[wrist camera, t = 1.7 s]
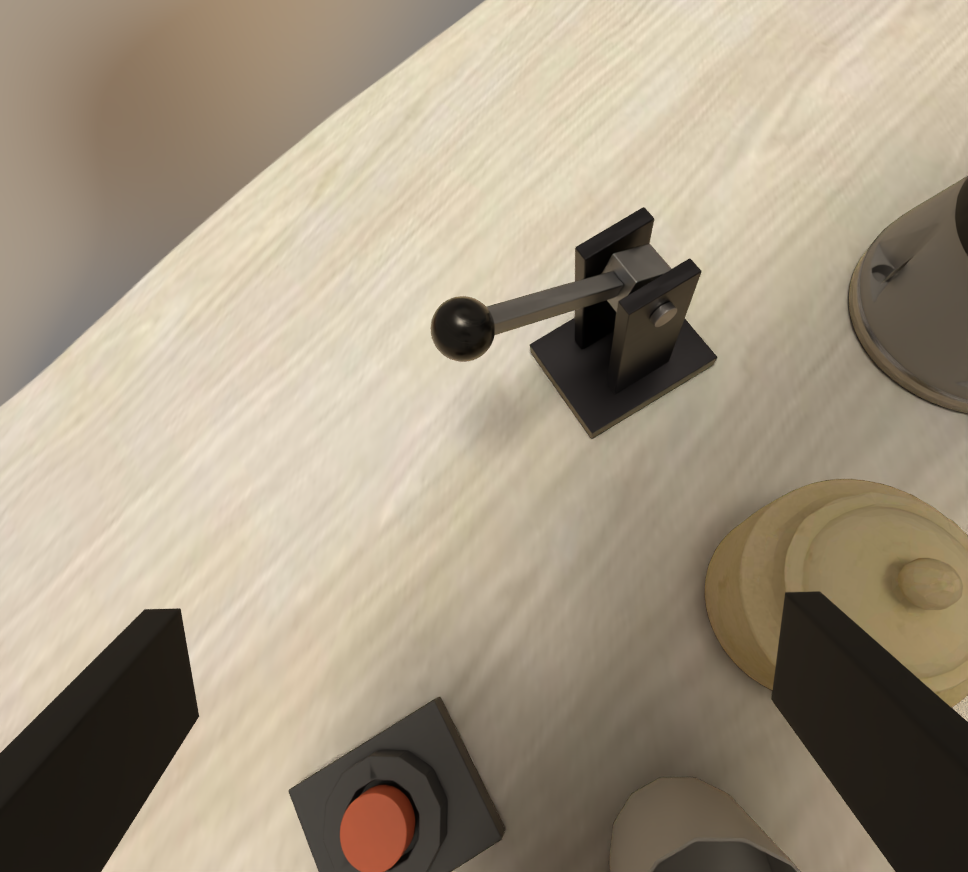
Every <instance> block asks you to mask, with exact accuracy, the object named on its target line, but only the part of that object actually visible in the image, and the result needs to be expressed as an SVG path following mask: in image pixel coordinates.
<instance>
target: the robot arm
mask: <svg viewBox="0 0 968 872" xmlns="http://www.w3.org/2000/svg"><path fill="white" fill-rule="evenodd" d="M849 311H850V315H851V320H852V323H853V326H854V329H855V332H856V334H857V336H858V338H859V340H860V342H861V344H862V345H863V347H864V349H865V350H866V352H867V353H868V354H869V356H870V357H871V358H872V360H873V361H874V362H875V363H876V364H877V365H878V366H879V367H880V368H881V369H882V370H883V371H884V372H885V373H886V374H887V375H888V376H889V377H891V378H892V379H893V380H894V381H896V382H897V383H898V384H900V385H901V386H903V387H904V388H906V389H907V390H908V391H910V392H912V393H914V394H916V395H917V396H919V397H921V398H923V399H925V400H928V401H930V402H932V403H935V404H937V405H940V406H943V407H945V408H949V409H952V410H956V411H960V412H965V413H968V176H967V177H965V178H963V179H962V180H960V181H958V182H957V183H955V184H953V185H952V186H950V187H948V188H947V189H945V190H943V191H942V192H940V193H938V194H937V195H935V196H933V197H932V198H930V199H928V200H927V201H925V202H923V203H922V204H920V205H918V206H916V207H915V208H913V209H911V210H910V211H908V212H907V213H905V214H904V215H902V216H901V217H899V218H898V219H897V220H895V221H894V222H893V223H891V224H890V225H889V226H888V227H887V228H886V229H884V230H883V231H882V232H881V233H880V235H879V236H878V237H877V238H876V239H875V240H874V242H873V243H872V244H871V246H870V247H869V248H868V249H867V251H866V252H865V253H864V255H863V256H862V257H861V259H860V261H859V262H858V264H857V266H856V268H855V270H854V273H853V276H852V279H851V282H850V289H849ZM771 700H772V701H773V702H774V704H775V705H776V707H777V708H778V709H779V711H780V712H781V713H782V715H783V716H784V718H785V719H786V720H787V722H788V723H789V725H790V726H791V727H792V729H793V730H794V731H795V733H796V734H797V736H798V737H799V738H800V740H801V741H802V743H803V744H804V745H805V747H806V748H807V750H808V751H809V752H810V754H811V755H812V756H813V758H814V759H815V761H816V762H817V763H818V765H819V766H820V768H821V769H822V770H823V772H824V773H825V775H826V776H827V777H828V779H829V780H830V781H831V783H832V784H833V786H834V787H835V788H836V790H837V791H838V793H839V794H840V795H841V797H842V798H843V800H844V801H845V802H846V804H847V805H848V806H849V808H850V809H851V811H852V812H853V813H854V815H855V816H856V818H857V819H858V820H859V822H860V823H861V825H862V826H863V827H864V829H865V830H866V831H867V833H868V834H869V836H870V837H871V838H872V840H873V841H874V843H875V844H876V845H877V847H878V848H879V850H880V851H881V852H882V854H883V855H884V856H885V858H886V859H887V861H888V862H889V863H890V865H891V866H892V868H893V869H894V870H895V872H968V722H967V721H966V720H965V719H964V718H963V717H961V716H960V715H959V714H958V713H957V712H956V711H955V710H954V709H952V708H951V707H950V706H949V705H948V704H947V703H946V702H944V701H943V700H942V699H941V698H940V697H939V696H938V695H937V694H935V693H934V692H933V691H932V690H931V689H930V688H929V687H927V686H926V685H925V684H924V683H923V682H922V681H921V680H920V679H918V678H917V677H916V676H915V675H914V674H913V673H912V672H911V671H909V670H908V669H907V668H906V667H905V666H904V665H903V664H901V663H900V662H899V661H898V660H897V659H896V658H895V657H894V656H892V655H891V654H890V653H889V652H888V651H887V650H886V649H885V648H883V647H882V646H881V645H880V644H879V643H878V642H877V641H875V640H874V639H873V638H872V637H871V636H870V635H869V634H868V633H866V632H865V631H864V630H863V629H862V628H861V627H860V626H859V625H857V624H856V623H855V622H854V621H853V620H852V619H851V618H849V617H848V616H847V615H846V614H845V613H844V612H843V611H842V610H840V609H839V608H838V607H837V606H836V605H835V604H834V603H833V602H831V601H830V600H829V599H828V598H827V597H826V596H825V595H823V594H822V593H821V592H820V591H813V592H785V597H784V605H783V613H782V621H781V628H780V636H779V644H778V651H777V659H776V667H775V674H774V682H773V690H772V698H771ZM198 717H199V713H198V707H197V701H196V696H195V690H194V684H193V678H192V672H191V667H190V661H189V655H188V649H187V643H186V638H185V632H184V626H183V620H182V615H181V609H145V610H144V611H143V612H142V613H141V614H140V615H139V616H138V617H137V618H136V619H135V620H134V621H133V622H132V623H131V624H130V625H129V626H128V627H127V628H126V629H125V630H124V631H123V632H122V633H120V634H119V635H118V636H117V637H116V638H115V639H114V640H113V641H112V642H111V643H110V644H109V645H108V646H107V647H106V648H105V649H104V650H103V651H102V652H101V653H100V654H99V655H98V656H97V657H96V658H95V659H94V660H93V661H92V662H91V663H90V664H89V665H88V666H87V667H86V668H85V669H84V670H83V671H82V672H81V673H80V674H79V675H78V676H77V677H76V678H75V679H74V680H73V681H72V682H71V683H70V684H69V685H68V686H67V687H66V688H65V689H64V690H63V691H62V692H61V693H60V694H59V695H58V696H57V697H56V698H55V699H54V700H53V701H52V702H51V703H50V704H49V705H48V706H47V707H46V708H45V709H44V710H43V711H42V712H41V713H40V714H39V715H38V716H37V717H36V718H35V719H34V720H33V721H32V722H31V723H30V724H29V725H28V726H27V727H26V728H25V729H24V730H23V731H22V732H21V733H20V734H19V735H18V736H17V737H16V738H15V739H14V740H13V741H12V742H11V743H10V744H9V745H8V746H7V747H6V748H5V749H4V750H3V751H2V752H1V753H0V872H101V871H102V869H103V868H104V866H105V865H106V863H107V862H108V860H109V858H110V857H111V855H112V854H113V852H114V850H115V849H116V847H117V846H118V844H119V842H120V841H121V839H122V838H123V836H124V835H125V833H126V831H127V830H128V828H129V827H130V825H131V823H132V822H133V820H134V819H135V817H136V816H137V814H138V812H139V811H140V809H141V808H142V806H143V804H144V803H145V801H146V800H147V798H148V796H149V795H150V793H151V792H152V790H153V789H154V787H155V785H156V784H157V782H158V781H159V779H160V777H161V776H162V774H163V773H164V771H165V770H166V768H167V766H168V765H169V763H170V762H171V760H172V758H173V757H174V755H175V754H176V752H177V750H178V749H179V747H180V746H181V744H182V743H183V741H184V739H185V738H186V736H187V735H188V733H189V731H190V730H191V728H192V727H193V725H194V724H195V722H196V720H197V719H198Z"/></svg>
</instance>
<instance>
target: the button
mask: <svg viewBox="0 0 968 872" xmlns="http://www.w3.org/2000/svg"><path fill="white" fill-rule="evenodd" d="M414 831H415V814H414V810H413V807H412V804H411V803H410V801H409V799H408V798H407V796H406V795H405V794H404V793H403V792H402V791H401V790H399V789H398V788H396V787H393V786H390V785H377V786H374V787H372V788H370V789H368V790H367V791H365V792H364V793H363V794H362V795H360V796H359V797H358V798H356V799H355V800H354V801H353V802H352V803H351V804H350V805H349V807H348V808H347V810H346V811H345V813H344V816H343V818H342V822H341V826H340V842H341V847H342V850H343V853H344V855H345V857H346V858H347V860H348V861H349V862H350V864H351V865H352V866H353V867H355V868H356V869H357V870H359V871H361V872H385V871H386V870H388V869H390V868H391V867H393V866H394V865H395V864H396V862H397V861H398V860H399V859H400V857H401V856H402V855H403V853H404V852H405V851H406V849H407V848H408V846H409V845H410V843H411V841H412V838H413V835H414Z"/></svg>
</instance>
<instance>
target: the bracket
mask: <svg viewBox="0 0 968 872" xmlns="http://www.w3.org/2000/svg"><path fill="white" fill-rule="evenodd" d="M653 223H654V218H653V216H652V215H651V214H650V213H649V212H648V211H647V210H646V209H645V208H644V207H643V208H641V209H640V210H638V211H636V212H634V213H633V214H631V215H629V216H628V217H626V218H624V219H623V220H621V221H619V222H618V223H616V224H614V225H612V226H611V227H609V228H607V229H606V230H604V231H602V232H601V233H599V234H597V235H596V236H594V237H592V238H590V239H589V240H587V241H585V242H584V243H582V244H580V245H579V246H577V247H576V248H575V281H579V280H582V279H586V278H589V277H593V276H596V275H600V274H602V272H603V270H604V268H605V267H606V265H607V263H608V261H609V259H610V257H611V256H612V254H613V253H616V252H620V251H624V250H628V249H631V248H635V247H639V246H643V245H646V244H649V243H650V238H651V233H652V228H653ZM700 274H701V270H700V269H699V268H698V267H697V265H696V264H695V263H694V262H693V261H692V260H691V259H688V260H686V261H684V262H683V263H681V264H679V265H678V266H676V267H674V268H673V269H671V270H669V271H668V272H666V273H664V274H663V275H661V276H659V277H658V278H656V279H654V280H653V281H651V282H649V283H648V284H646V285H644V286H643V287H641V288H639V289H638V290H636V291H634V292H633V293H631V294H629V295H628V296H626V297H624V298H623V299H621V300H619V301H618V306H617V312H616V311H615V310H614V309H613V307H612V306H611V305H610V303H609V302H608V301H607V300H606V301H602V302H599V303H596V304H593V305H590V306H586V307H583V308H580V309H577V310H575V318H573V319H572V320H570V321H568V322H567V323H565V324H563V325H562V326H560V327H558V328H557V329H555V330H553V331H552V332H550V333H548V334H547V335H545V336H543V337H542V338H540V339H538V340H537V341H535V342H533V343H532V344H530V351H531V353H532V355H533V356H534V358H535V359H536V360H537V362H538V363H539V365H540V366H541V368H542V369H543V370H544V372H545V373H546V375H547V376H548V378H549V379H550V380H551V382H552V383H553V385H554V386H555V388H556V389H557V390H558V392H559V393H560V395H561V396H562V398H563V399H564V400H565V402H566V403H567V405H568V406H569V408H570V409H571V410H572V412H573V413H574V415H575V416H576V418H577V419H578V420H579V422H580V423H581V425H582V426H583V428H584V429H585V430H586V432H587V433H588V435H589V436H590V438H591V439H592V438H594V437H596V436H597V435H599V434H600V433H602V432H604V431H605V430H607V429H609V428H610V427H612V426H614V425H615V424H617V423H619V422H620V421H622V420H623V419H625V418H627V417H628V416H630V415H632V414H633V413H635V412H637V411H638V410H640V409H642V408H643V407H645V406H647V405H648V404H650V403H651V402H653V401H655V400H656V399H658V398H660V397H661V396H663V395H665V394H666V393H668V392H670V391H671V390H673V389H675V388H676V387H678V386H679V385H681V384H683V383H684V382H686V381H688V380H689V379H691V378H693V377H694V376H696V375H698V374H699V373H701V372H703V371H704V370H706V369H707V368H709V367H711V366H712V365H714V363H715V361H716V359H717V356H716V355H715V354H714V353H713V351H712V350H711V349H710V348H709V347H708V345H707V344H706V343H705V342H704V341H703V340H702V338H701V337H700V336H699V335H698V334H697V332H696V331H695V330H694V329H693V328H692V327H691V325H690V324H689V323H688V322H687V321H686V319H685V316H686V313H687V310H688V308H689V305H690V302H691V299H692V297H693V294H694V291H695V288H696V285H697V283H698V280H699V277H700Z"/></svg>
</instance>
